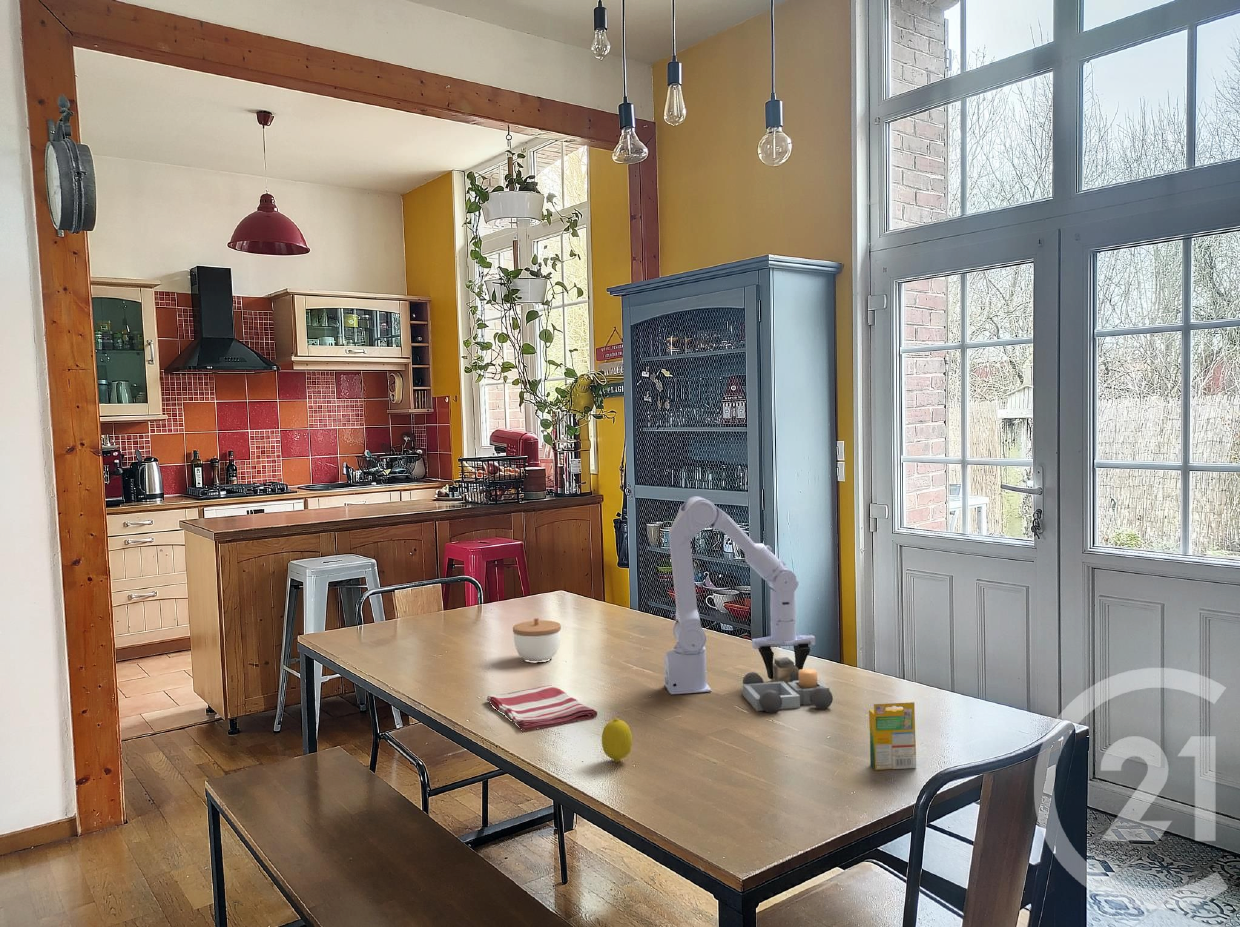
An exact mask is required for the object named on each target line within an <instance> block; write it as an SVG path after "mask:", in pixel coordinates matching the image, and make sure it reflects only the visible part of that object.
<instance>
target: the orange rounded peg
mask: <svg viewBox="0 0 1240 927" xmlns="http://www.w3.org/2000/svg"><path fill="white" fill-rule="evenodd" d="M817 680H818V671H817V670H816V669H813V668H803V669H801V670H799V686H801V687H803V689H805V688H814V687H816V686H817V685H818V684H817Z"/></svg>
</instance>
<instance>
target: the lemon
mask: <svg viewBox="0 0 1240 927" xmlns="http://www.w3.org/2000/svg"><path fill="white" fill-rule="evenodd" d="M632 746H633V735H632V732H631V728H630V727H629V725H628V723H626V722H625V721H624V720H621V719H619V718H618V717H616V718H614V719H612V720H610V721H608V722H607V723H606V724H605V726H604V727H603V729H602V733H601V747H602V750H603V752H604V754H605V755H606V756H607V757H608V758H610V759H612V760H614V761H615V762H616V763H619V762H621V760H622V759H624V758H625V757H627V756H628V755H630V751H631V750H632Z"/></svg>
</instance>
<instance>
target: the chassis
mask: <svg viewBox="0 0 1240 927" xmlns="http://www.w3.org/2000/svg"><path fill="white" fill-rule="evenodd" d="M799 670H801V669H797V670H795V671H793V672H792V674H791V675H790V682H787V684H788V685H787V684H786V683H785V682H784V681H781V682H773V681H769V682H765V681H764V678H763V677H761V676H760V675H759V674H758V673H756V672H753V671H751V672H748V673H746V674H745V675H744V676H743V679H742V695H743V696H744V698H745V699H746V700H747V702H748V703H750V705H751V706H752V707H753V708H754V709H755V710H756V711H757V712H759V711H760V712H761V711H765V712H766V713H767V714H774V713H777V712H778V711H780V710H786V709H798V708H799V709H801V705H813V706H815V708H817V709H819V710H825V709H828V708H829V707H831V705H832V703H833V700H834V697H833V693H832V692H831V690H830V687H829V686H828V685H826V683H824V682H823V681H822V680H820V679H817V684H818V685H817V686H816V687H814V688H805V689H803V687H801V686H799Z"/></svg>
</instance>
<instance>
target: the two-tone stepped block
mask: <svg viewBox="0 0 1240 927" xmlns="http://www.w3.org/2000/svg"><path fill="white" fill-rule="evenodd" d="M797 669H798V668H797V667H796V666H795V662H794V661H793V660H792V659H790V658H789V657H787V656H785V657H773V679H770V680H771V682H781V681H784V682H785V683H786V684H787V682H790V675H791V674H792V672H793V671H795V670H797ZM787 685H788V684H787Z"/></svg>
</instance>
